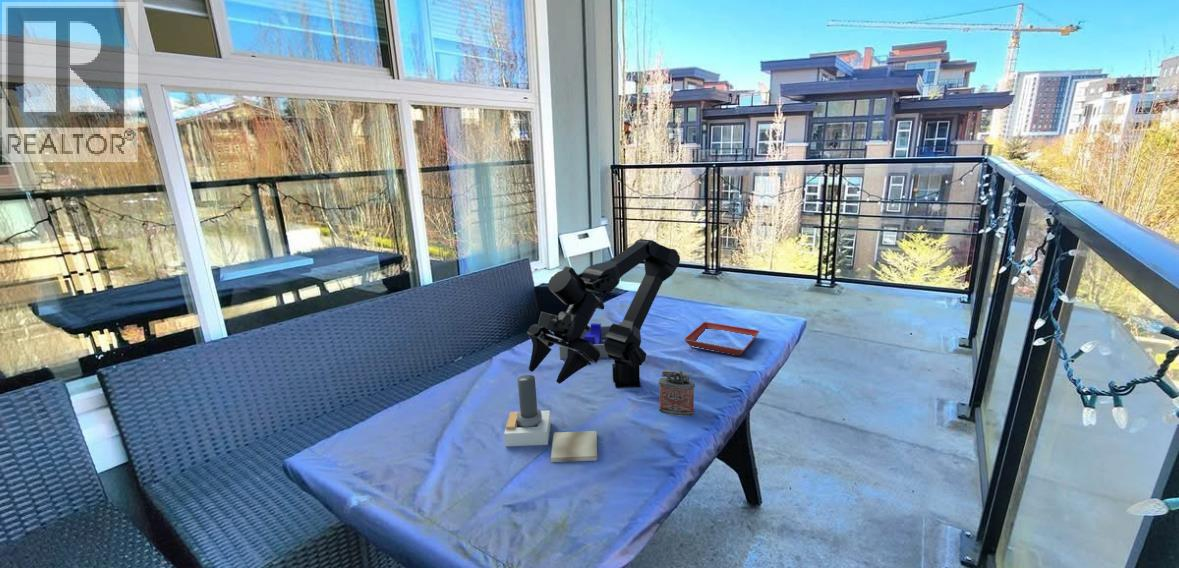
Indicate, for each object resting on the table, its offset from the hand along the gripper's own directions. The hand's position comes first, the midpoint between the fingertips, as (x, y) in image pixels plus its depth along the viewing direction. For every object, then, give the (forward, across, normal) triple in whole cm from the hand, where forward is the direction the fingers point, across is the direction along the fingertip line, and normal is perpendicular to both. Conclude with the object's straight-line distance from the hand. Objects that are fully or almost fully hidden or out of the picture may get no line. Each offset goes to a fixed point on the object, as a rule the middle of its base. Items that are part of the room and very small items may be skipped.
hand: (543, 376), depth 108 cm
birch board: (+10, +11, +7) cm, 16 cm away
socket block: (+12, 0, +5) cm, 13 cm away
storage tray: (-19, -25, +35) cm, 47 cm away
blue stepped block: (-19, -24, +36) cm, 47 cm away
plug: (+12, 0, +5) cm, 13 cm away
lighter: (-8, +18, +25) cm, 32 cm away
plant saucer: (-39, +5, +55) cm, 68 cm away
